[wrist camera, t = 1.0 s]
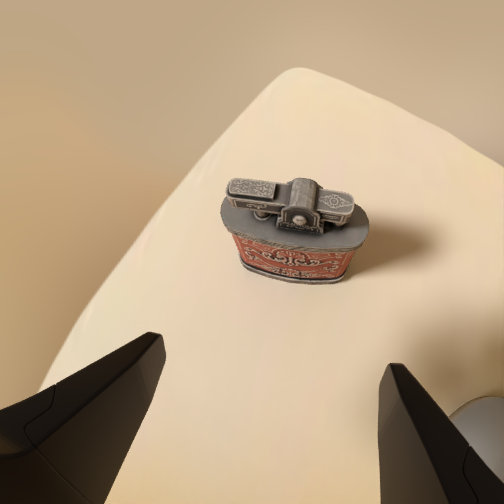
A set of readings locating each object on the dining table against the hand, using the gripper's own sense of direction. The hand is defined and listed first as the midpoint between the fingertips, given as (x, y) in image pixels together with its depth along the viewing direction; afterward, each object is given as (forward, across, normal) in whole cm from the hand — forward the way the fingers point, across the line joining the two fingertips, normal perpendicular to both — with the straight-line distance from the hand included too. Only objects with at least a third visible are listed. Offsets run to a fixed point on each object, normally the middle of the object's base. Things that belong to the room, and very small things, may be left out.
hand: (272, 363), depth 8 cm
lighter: (+15, 0, +5) cm, 16 cm away
